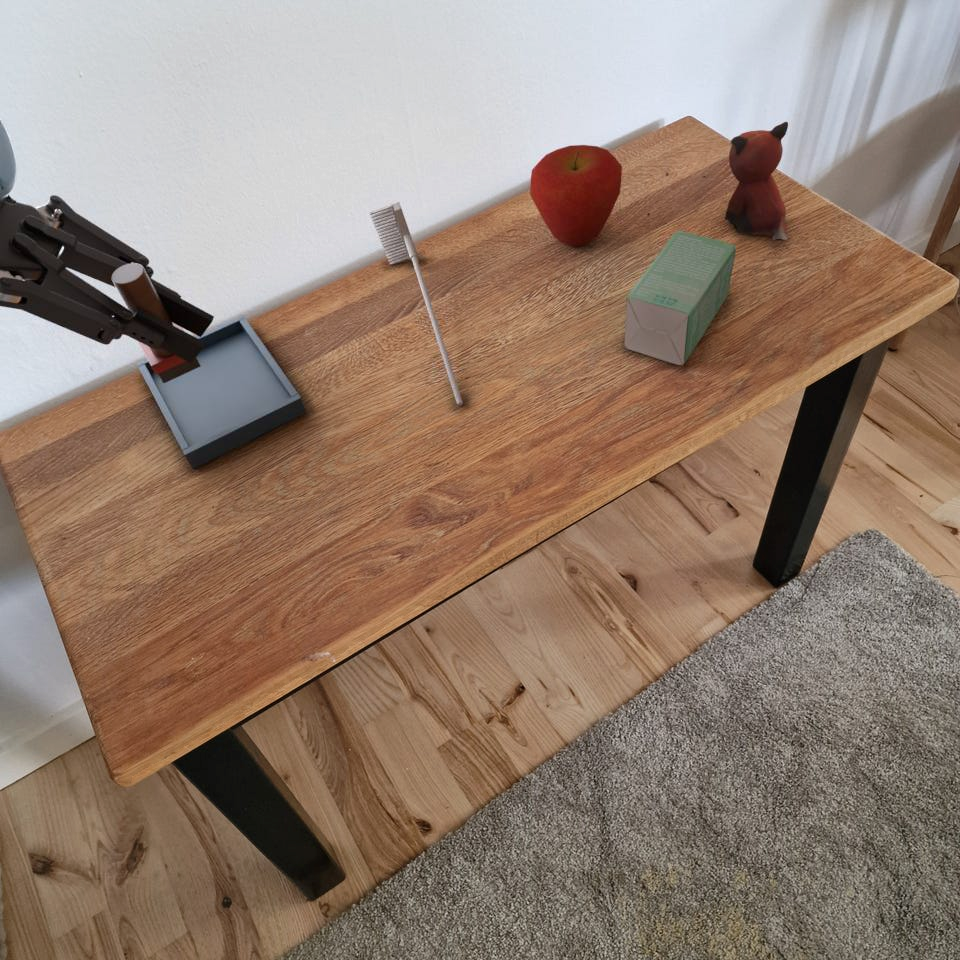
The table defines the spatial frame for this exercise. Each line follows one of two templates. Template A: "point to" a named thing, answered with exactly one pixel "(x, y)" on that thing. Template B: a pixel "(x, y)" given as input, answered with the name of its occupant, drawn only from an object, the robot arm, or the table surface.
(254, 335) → the tray
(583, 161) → the apple
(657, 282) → the box
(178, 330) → the robot arm
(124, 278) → the brown cylinder on base
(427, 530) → the table surface
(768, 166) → the stuffed fox
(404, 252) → the brush
